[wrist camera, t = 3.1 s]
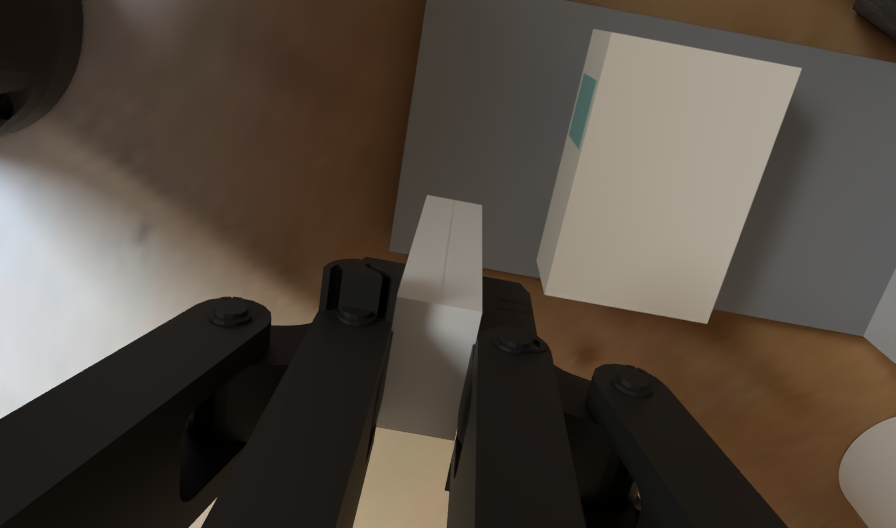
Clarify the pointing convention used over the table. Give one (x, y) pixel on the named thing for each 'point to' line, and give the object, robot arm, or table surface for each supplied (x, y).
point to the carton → (659, 174)
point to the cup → (872, 475)
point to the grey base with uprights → (546, 127)
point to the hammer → (879, 14)
